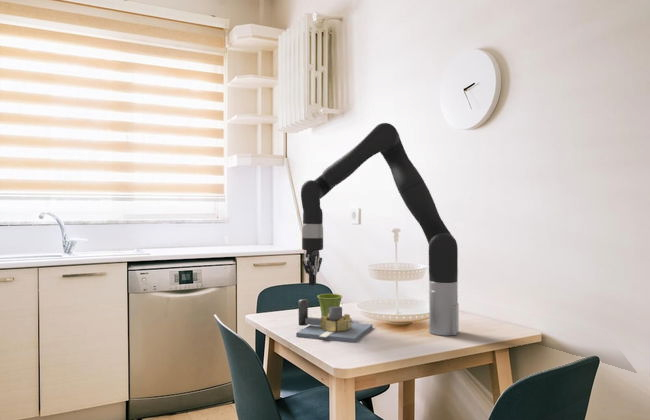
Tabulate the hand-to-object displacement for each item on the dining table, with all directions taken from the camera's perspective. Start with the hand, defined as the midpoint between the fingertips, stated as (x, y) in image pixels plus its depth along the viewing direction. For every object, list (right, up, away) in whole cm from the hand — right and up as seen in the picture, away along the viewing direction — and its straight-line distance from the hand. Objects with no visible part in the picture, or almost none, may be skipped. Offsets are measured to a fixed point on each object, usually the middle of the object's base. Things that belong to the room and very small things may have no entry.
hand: (312, 285), depth 174 cm
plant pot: (+6, -15, +10) cm, 19 cm away
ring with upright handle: (+4, -13, -8) cm, 16 cm away
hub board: (+8, -14, -10) cm, 19 cm away
